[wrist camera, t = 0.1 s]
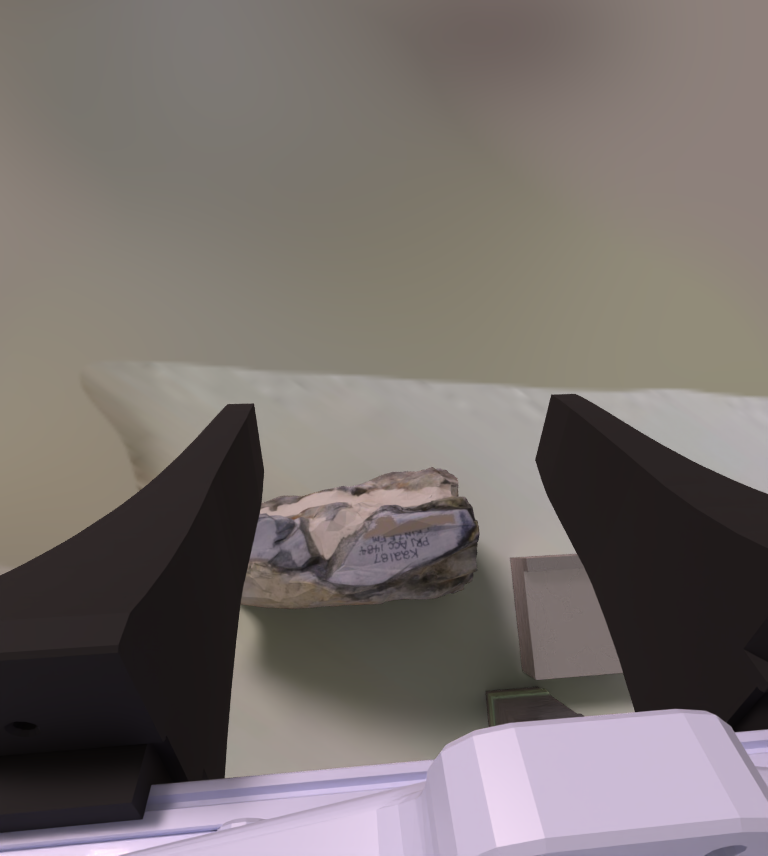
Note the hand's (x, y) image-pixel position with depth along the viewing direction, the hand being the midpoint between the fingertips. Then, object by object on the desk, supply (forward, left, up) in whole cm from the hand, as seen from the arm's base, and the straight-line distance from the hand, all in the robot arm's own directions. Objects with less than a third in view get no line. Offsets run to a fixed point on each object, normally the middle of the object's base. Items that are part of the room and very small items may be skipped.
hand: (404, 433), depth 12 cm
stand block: (-9, -17, -32) cm, 37 cm away
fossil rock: (-2, +2, -32) cm, 32 cm away
